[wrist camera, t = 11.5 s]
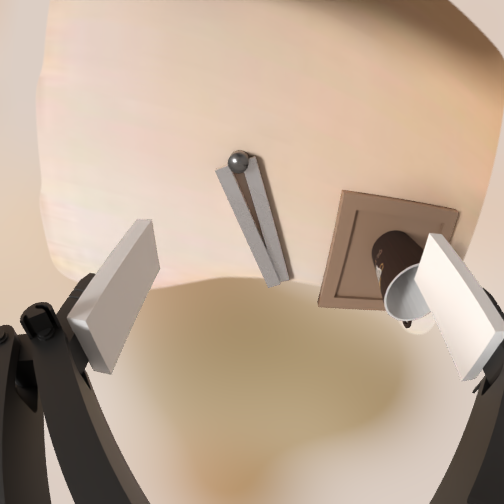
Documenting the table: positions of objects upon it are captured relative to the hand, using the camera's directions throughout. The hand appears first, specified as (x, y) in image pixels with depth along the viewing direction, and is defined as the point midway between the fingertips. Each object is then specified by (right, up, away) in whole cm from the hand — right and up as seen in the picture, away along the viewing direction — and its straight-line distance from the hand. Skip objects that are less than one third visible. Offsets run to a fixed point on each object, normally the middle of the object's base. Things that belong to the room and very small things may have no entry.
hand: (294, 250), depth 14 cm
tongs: (-1, +4, +27) cm, 27 cm away
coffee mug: (+18, -1, +28) cm, 33 cm away
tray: (+18, -1, +28) cm, 33 cm away
